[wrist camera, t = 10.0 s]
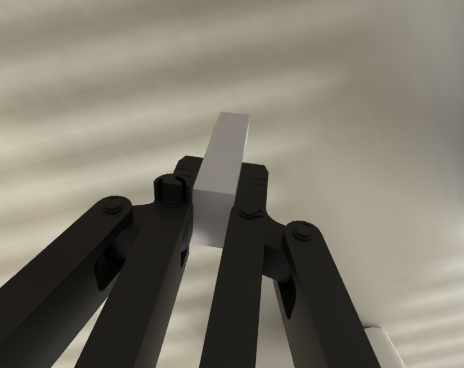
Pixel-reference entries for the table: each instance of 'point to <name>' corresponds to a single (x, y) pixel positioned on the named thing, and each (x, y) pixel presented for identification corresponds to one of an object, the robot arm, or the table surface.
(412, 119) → the table surface
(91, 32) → the table surface
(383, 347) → the cylindrical container
